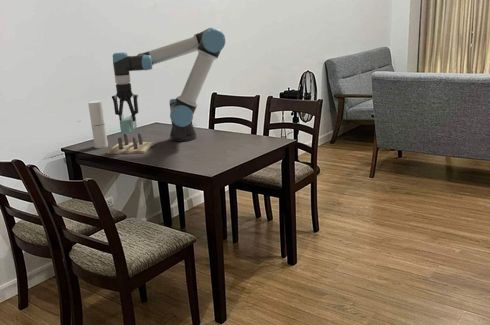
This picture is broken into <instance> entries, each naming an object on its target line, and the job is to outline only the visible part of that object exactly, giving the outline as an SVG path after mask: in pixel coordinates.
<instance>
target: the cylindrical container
mask: <svg viewBox="0 0 490 325" xmlns="http://www.w3.org/2000/svg"><path fill="white" fill-rule="evenodd" d="M87 103H88V110H89V111H88V112H89V117H90V123H91V131H92V137H93V138H92V139H93V145H94V149H103V148H107V147H109V143H108V142H109V141H108V135H107V130H106V129H107V128H106V122H105V115H104V107H103V101H102V100H92V101H88V102H87Z"/></svg>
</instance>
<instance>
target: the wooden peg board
mask: <svg viewBox="0 0 490 325" xmlns="http://www.w3.org/2000/svg"><path fill="white" fill-rule="evenodd" d="M137 135H138V136H137V137H136V136H134V137H132V142H129V137H128V136H129V135H128V133H123V137H118V138H117V141H118V142H117V144H115V145H114V146H113V147H111V148H110V149H109V150H108V151H107V152H106V153H107V155H112V154H113V155H115V154H116V155H117V154H120V155H121V154H123V155H124V154H145V153H146V152H147V151H148V150H149V149H151V148H152V147H153V146H154V145H155V141H143V134H142V132H139V133H137ZM137 139H138V140H137ZM123 140H124V142H123ZM151 146H152V147H151Z"/></svg>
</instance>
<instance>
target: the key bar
mask: <svg viewBox="0 0 490 325" xmlns="http://www.w3.org/2000/svg"><path fill="white" fill-rule="evenodd" d="M135 118H136V116H135ZM134 124H135V127H134V128H132V125H131V117H130V116H126V117H124V119H123V120H122V121H120V120H119V126H120V133H121V134H129V133H131V132H132V131H134V130H135V129H137V118H136V120H135V121H134Z"/></svg>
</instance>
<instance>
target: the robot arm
mask: <svg viewBox="0 0 490 325" xmlns="http://www.w3.org/2000/svg"><path fill="white" fill-rule="evenodd" d="M225 45H226V36H225V34H224V33H223V31H222V30H220V29H219V28H216V27H209V28H206V29H204V30H203V31H201V32H198V33H195V34H194V35H193V36H192V37H189V38H186V39H185V38H184V39H182V40H179V41H176V42H174V43H170V44H167V45H163V46H160V47H158V48H155V49H151V50H148V51H145V52H139V53H138V54H137V55H128V53H127V52H114V53H113V54H112V66H113V72H114V79H115V80H114V81H115V83H116V84H115V88H116V89H115V90H116V93H115V95H112V96H111V99H112V101H113V102H112V103H113V107H114V114H115V115H117V116H118V117H119V119H118V120H119V122H120V121H122V120H123V119H125V115H124V113H123V112H124V111H123V110H124V102H126V103H127V105H128V108H129V110H130V113H131V115H130V116H129V117H131V125H132V128H134V127H135V124H134V121H135V120H136V121H137V118H135V117H136V115H137V114H139V102H138V97H139V95H138V94H134V93H133V92H132V84H131V75H130V72H133V71H134V72H136V71H139V72H140V71H149V70H150V71H151V70H153V66H154V65H157V64H160V63H163V62H166V61H169V60H173V59H175V58H179V57H182V56H186V55H188V54H191V53H195V52H197V56H196V57H195V60H194V63H193V66H192V68H191V71H190V73H189V74H188V78H187V79H186V82H185V84H184V87H183V89H182V91H181V94H180V95H179V96H177V97H176V98H170V99H169V103H168V104H169V109H170V110H169V111H170V115H169V118H170V120H171V121H170V122H171V129H170V134H169V140H170V141H172V142H188V141H193V140H195V139H197V136H198V134H197V131H196V128H195V126H194V125H193V119H194V114H195V112H196V110H197V107H198V105H197V99H198V97H199V95H200V92H201V90H202V89H203V85H204V84H205V82H206V79H207V77H208V74H209V72H210V70H211V67H212V65H213V62H214V61H215V60H217V59H218V58H219V56H220V54H221V52H222V50H223V49H224V47H225ZM118 99H119V101H118ZM132 99H133V101H132ZM118 102H119V104H118ZM132 102H133V103H132Z"/></svg>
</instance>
